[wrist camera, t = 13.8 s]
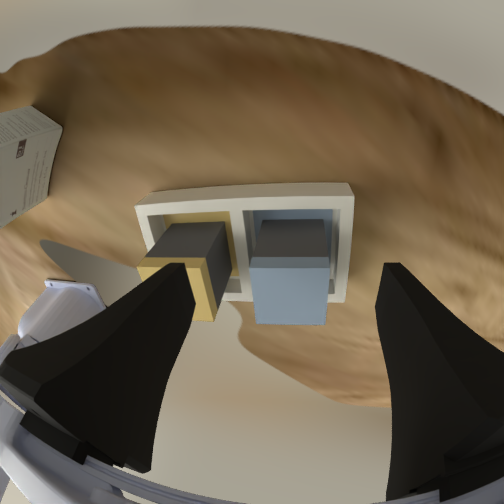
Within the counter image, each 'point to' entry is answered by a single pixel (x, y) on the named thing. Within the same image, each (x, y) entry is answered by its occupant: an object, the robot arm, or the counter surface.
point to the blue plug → (290, 272)
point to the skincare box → (25, 160)
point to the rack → (257, 222)
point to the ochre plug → (195, 262)
